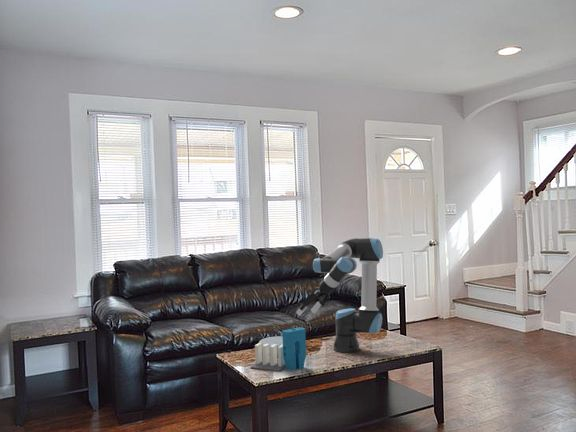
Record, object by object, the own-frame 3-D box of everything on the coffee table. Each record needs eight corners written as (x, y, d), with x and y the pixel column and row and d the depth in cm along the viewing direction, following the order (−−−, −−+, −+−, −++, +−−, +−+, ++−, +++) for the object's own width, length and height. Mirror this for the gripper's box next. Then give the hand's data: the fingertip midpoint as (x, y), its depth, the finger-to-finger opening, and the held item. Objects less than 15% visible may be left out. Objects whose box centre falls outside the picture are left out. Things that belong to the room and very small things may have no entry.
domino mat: (292, 362, 276) (292, 361, 276) (279, 371, 261) (279, 370, 261) (263, 359, 283) (263, 358, 283) (250, 368, 268) (250, 366, 268)
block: (301, 364, 272) (300, 327, 272) (307, 366, 268) (306, 328, 268) (282, 369, 265) (281, 330, 265) (288, 371, 261) (286, 332, 261)
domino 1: (262, 361, 277) (261, 343, 277) (258, 364, 272) (257, 345, 272) (259, 361, 278) (259, 342, 278) (255, 363, 273) (254, 345, 273)
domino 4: (285, 363, 272) (284, 345, 272) (281, 366, 267) (280, 347, 267) (282, 363, 272) (281, 344, 272) (278, 366, 268) (277, 347, 268)
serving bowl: (275, 345, 312) (275, 334, 312) (302, 351, 299) (302, 339, 298) (252, 353, 296) (251, 342, 296) (279, 359, 282) (279, 347, 282)
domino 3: (277, 363, 273) (276, 344, 273) (273, 365, 269) (272, 346, 269) (274, 362, 274) (274, 344, 274) (270, 365, 270) (270, 346, 269)
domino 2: (269, 362, 275) (269, 343, 275) (265, 365, 271) (265, 346, 271) (267, 362, 276) (266, 343, 276) (263, 364, 271) (262, 345, 271)
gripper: (321, 289, 245) (296, 320, 252) (346, 287, 266) (322, 316, 273) (311, 278, 249) (287, 309, 256) (337, 277, 269) (313, 306, 276)
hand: (305, 313), depth 264 cm, fingers open, 13 cm apart
